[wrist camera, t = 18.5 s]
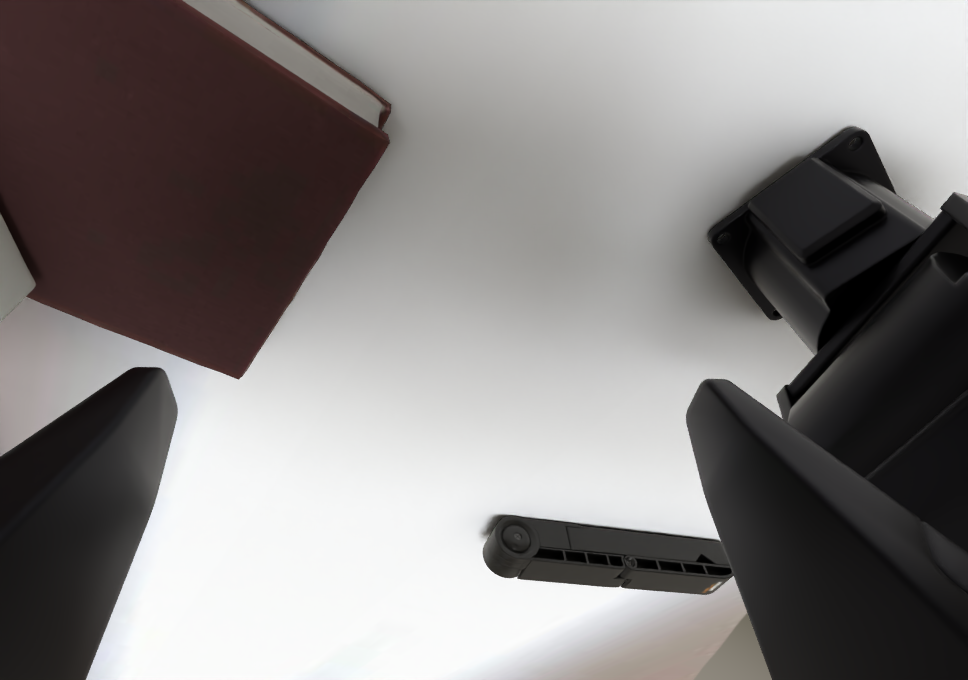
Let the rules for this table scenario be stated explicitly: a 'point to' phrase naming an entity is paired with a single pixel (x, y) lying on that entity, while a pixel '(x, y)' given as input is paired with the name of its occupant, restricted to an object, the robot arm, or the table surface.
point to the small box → (12, 273)
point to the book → (175, 166)
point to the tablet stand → (604, 557)
